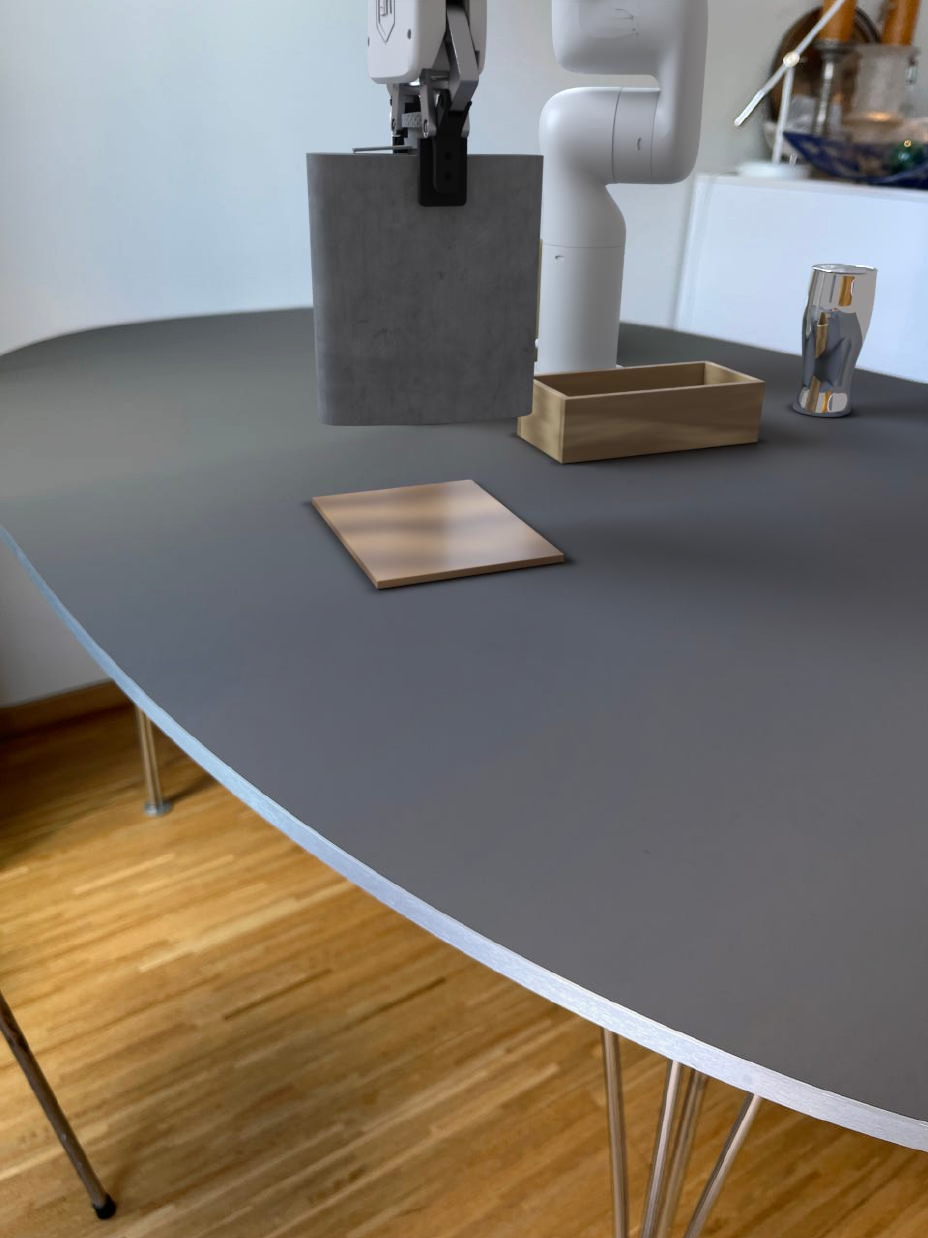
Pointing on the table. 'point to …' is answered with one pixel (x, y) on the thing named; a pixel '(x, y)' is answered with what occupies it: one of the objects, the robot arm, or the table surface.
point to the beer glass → (833, 336)
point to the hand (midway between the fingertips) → (429, 199)
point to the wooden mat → (432, 533)
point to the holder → (641, 410)
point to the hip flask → (423, 288)
